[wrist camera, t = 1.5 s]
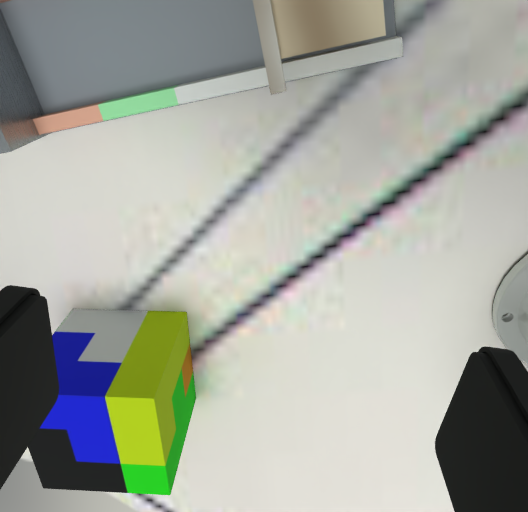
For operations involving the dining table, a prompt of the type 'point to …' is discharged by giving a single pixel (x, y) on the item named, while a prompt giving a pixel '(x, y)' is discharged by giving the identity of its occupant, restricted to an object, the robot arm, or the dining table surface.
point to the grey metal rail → (156, 54)
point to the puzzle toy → (117, 402)
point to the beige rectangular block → (312, 29)
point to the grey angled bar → (15, 96)
